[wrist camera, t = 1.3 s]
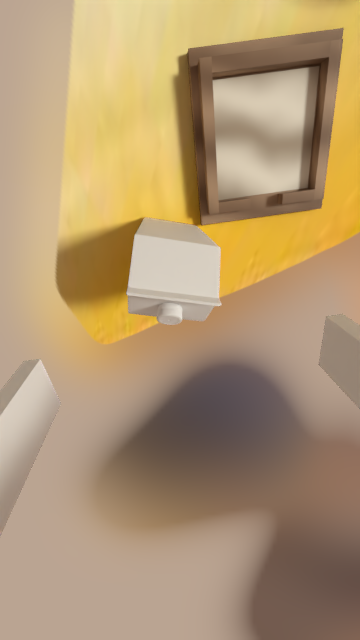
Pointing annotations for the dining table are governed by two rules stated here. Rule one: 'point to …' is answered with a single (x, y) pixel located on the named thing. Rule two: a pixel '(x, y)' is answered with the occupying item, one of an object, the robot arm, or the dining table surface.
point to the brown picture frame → (263, 123)
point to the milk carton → (173, 272)
